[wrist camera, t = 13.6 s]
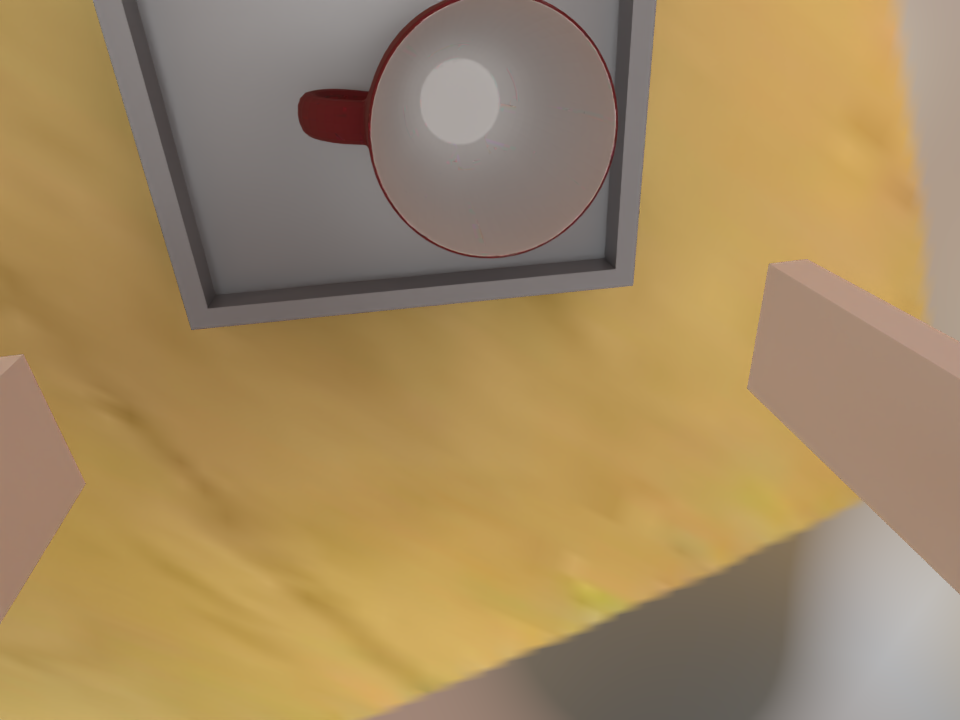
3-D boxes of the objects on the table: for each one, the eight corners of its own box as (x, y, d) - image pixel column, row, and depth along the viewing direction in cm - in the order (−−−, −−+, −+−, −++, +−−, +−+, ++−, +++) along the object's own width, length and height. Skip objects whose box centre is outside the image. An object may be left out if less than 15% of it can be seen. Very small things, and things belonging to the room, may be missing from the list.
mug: (334, 208, 30) (316, 286, 21) (293, 16, 26) (250, 14, 17) (549, 179, 30) (618, 243, 22) (541, -11, 27) (622, -26, 18)
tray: (203, 308, 32) (191, 329, 30) (79, -133, 23) (48, -149, 21) (616, 268, 34) (632, 285, 32) (644, -145, 26) (669, -160, 23)
